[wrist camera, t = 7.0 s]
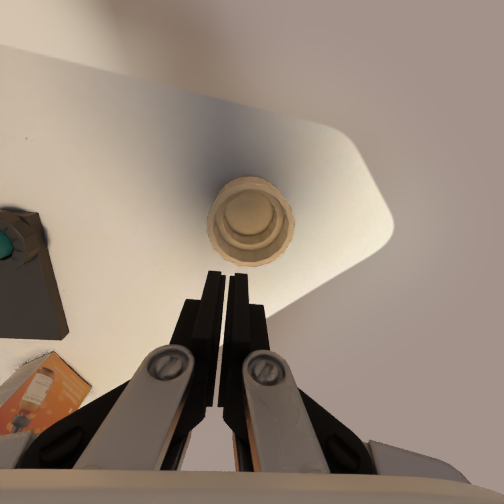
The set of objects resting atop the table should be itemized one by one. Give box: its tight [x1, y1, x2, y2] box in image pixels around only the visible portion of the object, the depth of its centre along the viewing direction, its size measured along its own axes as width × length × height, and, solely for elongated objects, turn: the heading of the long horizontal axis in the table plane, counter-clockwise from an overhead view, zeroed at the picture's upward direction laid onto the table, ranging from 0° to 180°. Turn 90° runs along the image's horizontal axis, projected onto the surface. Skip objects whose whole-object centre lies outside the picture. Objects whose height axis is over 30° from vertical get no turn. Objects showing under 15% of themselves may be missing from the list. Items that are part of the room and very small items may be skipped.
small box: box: [0, 352, 91, 436], centre depth 29 cm, size 8×6×10 cm
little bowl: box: [207, 176, 295, 267], centre depth 23 cm, size 7×7×6 cm
